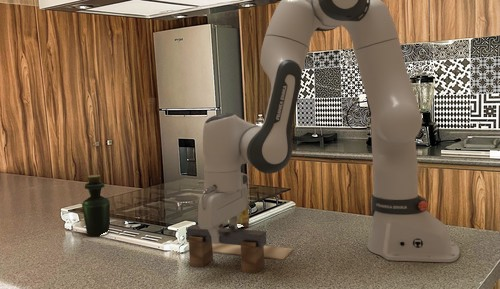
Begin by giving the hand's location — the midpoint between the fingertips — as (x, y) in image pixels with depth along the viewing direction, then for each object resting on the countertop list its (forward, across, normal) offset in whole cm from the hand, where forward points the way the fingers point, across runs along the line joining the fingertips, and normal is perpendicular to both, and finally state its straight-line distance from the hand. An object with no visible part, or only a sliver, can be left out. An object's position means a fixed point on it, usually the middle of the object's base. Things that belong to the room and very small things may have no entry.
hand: (225, 237), depth 124 cm
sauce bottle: (+7, +32, +11) cm, 34 cm away
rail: (+1, 0, 0) cm, 1 cm away
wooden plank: (+7, +12, 0) cm, 13 cm away
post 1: (+7, 0, +7) cm, 10 cm away
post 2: (+7, 0, -7) cm, 10 cm away
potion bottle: (+8, +13, +50) cm, 52 cm away
